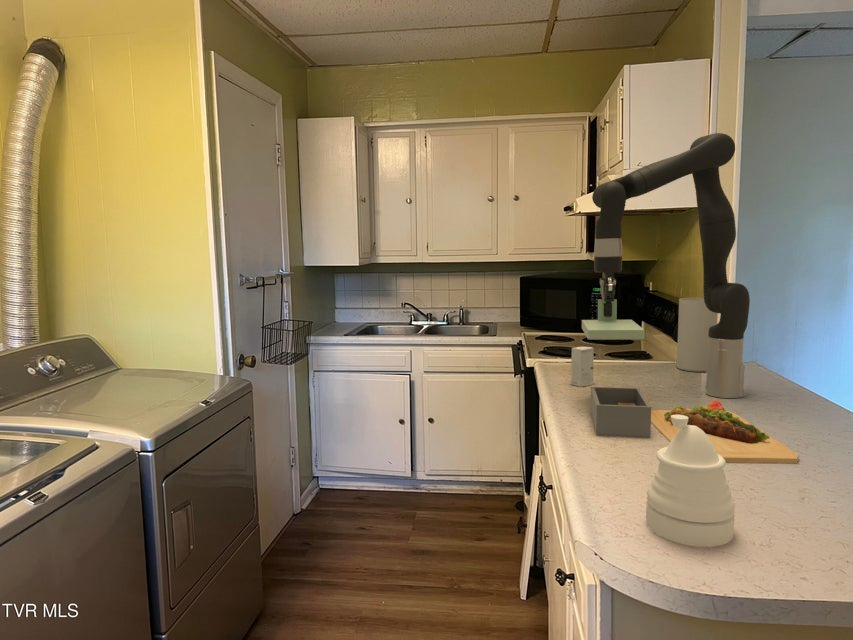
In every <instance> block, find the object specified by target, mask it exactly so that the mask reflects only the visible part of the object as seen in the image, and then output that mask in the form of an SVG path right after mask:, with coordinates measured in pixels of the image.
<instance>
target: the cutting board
mask: <svg viewBox="0 0 853 640" xmlns="http://www.w3.org/2000/svg"><path fill="white" fill-rule="evenodd" d="M671 415H684V416H687V417H688V423H687V425H693V426H697V427H698V428H700V429H701V430H703V431H704V432H705V434H706V435H707V436H708V438H709V439H710V441H711V442H712V444H713V446H714V448H715V450H716V452H717V454H719V455H720V456H722V457H723V458H724V460H725V462H726V463H728V464H729V463H731V464H735V463H736V464H794V463H798V462H797V461H799V454H798V453H797V452H795V451H794V450H792V449H791V448H789V447H787V446H786V445H784V444H783V443H781V442H779V440H776V439H775V438H774V437H772V436H770V435H769V434H767V433H765V432H764V431H763V430H761V429H759V427H756V426H755V425H754V424H752V423H750V422H749V421H747V420H746V419H744V418H743V417H741V416H739V415H738V414H736V413H734V412H732V411H730V410H725V408H724V407H723V404H722V403H721V402H720V401H719V400H718V399H714V400H713V401H712V402H710V403H708V405H706V406H702V405H694V406H692V408H691V409H690V408H688V407H682V406H680V405H678V406H674V408H673V409H672V410H669V409H666V410H665V409H664V410H663V409H659V410H657V409H656V410H655V409H651V425H653V427H654V428H656V430H658V432H659V433H660V434H661V435H662V436H663V437H664V438H665V439H666V440H667V441H668V442H669V443H670V442H671V441H672V439H673V438H674V437H675V435H676V434H677V433H678V432H679V431H680V430H681V429H677V428H676V427H674V425H673V424H672V421H671ZM726 463H725V464H726Z"/></svg>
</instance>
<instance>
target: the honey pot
mask: <svg viewBox="0 0 853 640" xmlns="http://www.w3.org/2000/svg"><path fill="white" fill-rule="evenodd" d="M671 421H672V424H673V425H674V427H676V428H677V429H681V430H680V431H679V432H678V433H677V434H676V435H675V437H674V438H673V439H672V441H671V442H669V444H668V445H667V446H665V447H662V448H660V449H658V450H657V452H656V454H655V456H656V459H657V460H658V461H659V464H658V466H657V467H656V468H655V469H654V473H653V474H654V475H653V476H652V479H651V483H650V484H649V485H648V488H647V491H646V495H647V497H646V505H645V506H646V508H645V509H646V510H645V511H646V512H645V521H646V525H647V527H648V528H649V529H650V530H651V531H652V532H653V533H655V535H657V536H660V537H661V538H663V539H666V540H667V541H671V542H674V543H677V544H681V545H685V546H689V547H690V546H691V547H699V548H701V547H702V548H703V547H704V548H709V547H710V548H712V547H713V548H714V547H718V546H723V545H725V544H728V543H730V542H731V541H732V540H733V539H734V533H735V530H734V529H735V513H736V512H735V511H736V510H735V508H736V503H735V499H734V497H733V496H732V490H731V487H730V486H729V484H730V483H729V479H728V478H727V477H728V476H726V473H725V471H724V468H725V467H726V462H725V460H724V458H723V457H722V456H720V455H719V454H717V452H716V450H715V448H714V446H713V444H712V442H711V441H710V439H709V438H708V436H707V435H706V434H705V432H704V431H703V430H701V429H700V428H698V427H697V426H693V425H687V423H688V417H687V416H684V415H671Z"/></svg>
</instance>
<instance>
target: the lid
mask: <svg viewBox="0 0 853 640" xmlns="http://www.w3.org/2000/svg"><path fill="white" fill-rule="evenodd" d="M617 301H618V300H617V299H616V298H614V302H613V303H611V304H612V316H611V317H605V316H604V302H603V299H601V298H600V299H599V298H598V299H597V319H581V329H582V331H583V333H584V334H585V337H586V338H587V340H645V329H644V328H643V327H641V325H639V324H638V323H636V322H635V321H634V320H633V319H618V318H617V315H618V313H617V311H618V310H617V309H618V308H617V307H618V305H617V304H618V302H617Z"/></svg>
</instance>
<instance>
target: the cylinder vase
mask: <svg viewBox="0 0 853 640" xmlns="http://www.w3.org/2000/svg"><path fill="white" fill-rule="evenodd" d="M718 315H719V313H714V312H712V311H710V310H709V309H708V308H707V307H706V305H705V302H704V297H681V298H678V325H677V327H678V328H677V347H676V348H677V351H676V353H677V355H676V366H677V368H678V369H679V370H682V371H685V372H691V373H707V356H708V332H709V328H710V327H711V326H714V325H717V324H718V318H719V317H718Z"/></svg>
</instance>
